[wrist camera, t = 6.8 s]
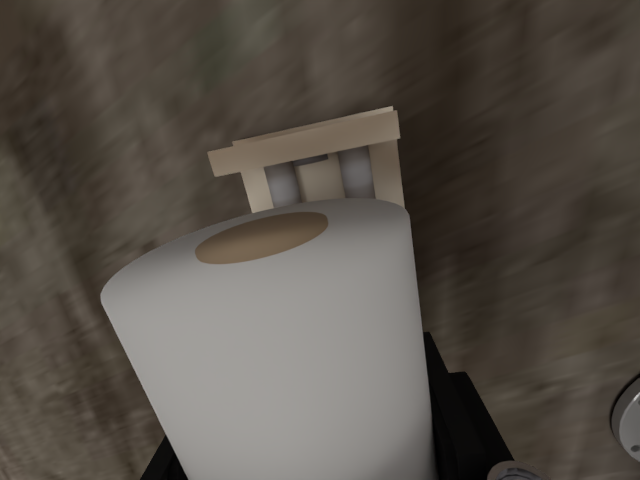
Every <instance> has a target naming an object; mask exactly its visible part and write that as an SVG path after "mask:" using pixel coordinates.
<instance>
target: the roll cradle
mask: <svg viewBox="0 0 640 480" xmlns="http://www.w3.org/2000/svg"><path fill="white" fill-rule="evenodd" d="M399 138H400V132H399V123H398V115H397V110H395V111H393V106H390V107H386V108H381V109H377V110H372V111H368V112H364V113H359V114H355V115H350V116H346V117H341V118H337V119H332V120H328V121H323V122H319V123H314V124H310V125H305V126H301V127H296V128H292V129H287V130H283V131H278V132H274V133H269V134H265V135H261V136H256V137H252V138H247V139H243V140H238V141H234V142H232V143H233V146H232V147H228V148H223V149H219V150H214V151H210V152H207V153H208V156H209V160H210V163H211V166H212V169H213V173H214V176H215V177H217V176H222V175H227V174H232V173H236V172H241V175H242V178H243V182H244V185H245V189H246V192H247V196H248V200H249V203H250V207H251V210H252V213H255V212H259V211H263V210H268V209H272V208H277V207H282V206H287V205H292V204H298V203H304V202H311V201H319V200H328V199H341V198H369V199H379V200H385V201H389V202H392V203H395V204H398V205H400V206H402V207H403V208H404V209H405V206H404V198H403V189H402V181H401V172H400V164H399V155H398V147H397V139H399Z"/></svg>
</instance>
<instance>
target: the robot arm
mask: <svg viewBox="0 0 640 480" xmlns="http://www.w3.org/2000/svg"><path fill="white" fill-rule="evenodd" d="M423 340H424V349H425V357H426V366H427V375H428V384H429V393H430V402H431V412H432V421H433V430H434V439H435V447H436V456H437V465H438V474H439V480H552V479H551V478H550V477H549V476H547V475H546V474H545V473H543V472H542V471H540V470H539V469H537V468H535V467H534V466H531V465H528V464H526V463H523V462H518V461H514V459H513V457H512V455H511V453H510V451H509V450H508V448H507V446H506V444H505V442H504V440H503V438H502V437H501V435H500V433H499V431H498V429H497V427H496V426H495V424H494V422H493V420H492V418H491V416H490V415H489V413H488V411H487V409H486V407H485V405H484V403H483V402H482V400H481V398H480V396H479V394H478V392H477V391H476V389H475V387H474V385H473V383H472V381H471V380H470V378H469V376H468V375H467V373H466V372H465V371H464V372H455V373H448V371H447V369H446V366H445V364H444V362H443V360H442V358H441V356H440V354H439V351H438V349H437V347H436V345H435V343H434V341H433V339H432V336H431V334H430V332H423ZM612 430H613V433H614V436H615V438H616V439H617V441H618V442H619V444H620V445H621V446H622V447H623V448H624V449H625V450H626V451H627V452H628V453H629V455H630V456H631V457H633V458H634V459H636V460H637V461H639V462H640V377H639V378H638V379H637V380H636V381H635V382H634V383H632V384H631V385H630V386H629V387H628V388H627V389H626V390H625V392H624V393H623V394H622V395H621V397H620V398H619V400H618V402H617V404H616V406H615V408H614V411H613V415H612ZM140 480H188V478H187V476H186V474H185V472H184V470H183V468H182V466H181V464H180V462H179V460H178V458H177V456H176V454H175V451H174V449H173V447H172V445H171V443H170V441H169V439H168V437H167V435H165V437H164V439H163V441H162V442H161V444H160V446H159V448H158V449H157V451H156V453H155V454H154V456H153V458H152V460H151V461H150V463H149V465H148V466H147V468H146V470H145V472H144V473H143V475H142V477H141V479H140Z"/></svg>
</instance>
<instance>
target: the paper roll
mask: <svg viewBox="0 0 640 480" xmlns="http://www.w3.org/2000/svg"><path fill="white" fill-rule="evenodd" d="M101 303H102V305H103V307H104V309H105V311H106V313H107V315H108V317H109V319H110V321H111V323H112V325H113V327H114V329H115V331H116V333H117V336H118V338H119V340H120V342H121V344H122V346H123V348H124V350H125V352H126V354H127V356H128V358H129V360H130V362H131V364H132V366H133V368H134V370H135V372H136V374H137V376H138V378H139V380H140V382H141V384H142V386H143V388H144V390H145V392H146V395H147V397H148V399H149V401H150V403H151V405H152V407H153V409H154V411H155V413H156V415H157V417H158V419H159V421H160V423H161V425H162V427H163V429H164V431H165V433H166V435H167V437H168V439H169V441H170V443H171V445H172V447H173V449H174V451H175V454H176V456H177V458H178V460H179V462H180V464H181V466H182V468H183V470H184V472H185V474H186V476H187V478H188V480H439V474H438V465H437V456H436V447H435V439H434V430H433V421H432V412H431V402H430V393H429V384H428V375H427V366H426V357H425V349H424V340H423V331H422V322H421V313H420V304H419V296H418V287H417V278H416V269H415V260H414V251H413V243H412V234H411V225H410V216H409V214H408V212H407V210H405V209H404V208H403V207H402V206H400V205H398V204H395V203H392V202H389V201H385V200H379V199H369V198H341V199H328V200H319V201H311V202H304V203H298V204H292V205H287V206H282V207H277V208H272V209H268V210H263V211H259V212H255V213H251V214H248V215H244V216H240V217H237V218H233V219H230V220H227V221H224V222H221V223H217V224H214V225H211V226H209V227H206V228H203V229H200V230H197V231H195V232H192V233H190V234H187V235H185V236H182V237H180V238H177V239H175V240H173V241H171V242H168V243H166V244H164V245H162V246H160V247H158V248H156V249H154V250H152V251H150V252H148V253H146V254H144V255H143V256H141V257H139V258H137V259H136V260H134V261H133V262H131V263H130V264H128V265H127V266H125V267H124V268H123V269H121V270H120V271H119V272H117V273H116V274H115V275H114V276H113V277H112V278H111V279H110V280H109V281H108V282H107V284H106V285H105V286H104V288H103V290H102V293H101Z"/></svg>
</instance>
